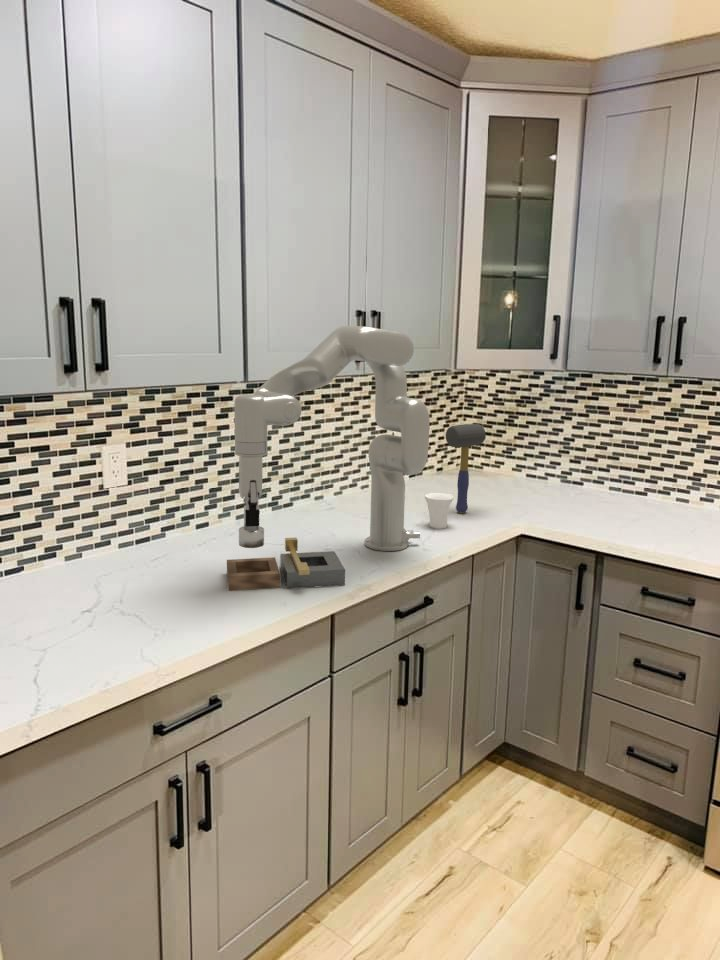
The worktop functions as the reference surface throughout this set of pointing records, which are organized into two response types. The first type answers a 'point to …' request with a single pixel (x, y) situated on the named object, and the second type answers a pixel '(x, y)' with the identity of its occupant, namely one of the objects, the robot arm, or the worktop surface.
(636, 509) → the worktop surface
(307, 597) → the worktop surface
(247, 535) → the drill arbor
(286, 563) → the spindle block
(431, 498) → the cup
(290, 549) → the brass key
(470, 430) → the rubber mallet
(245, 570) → the frame
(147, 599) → the worktop surface
